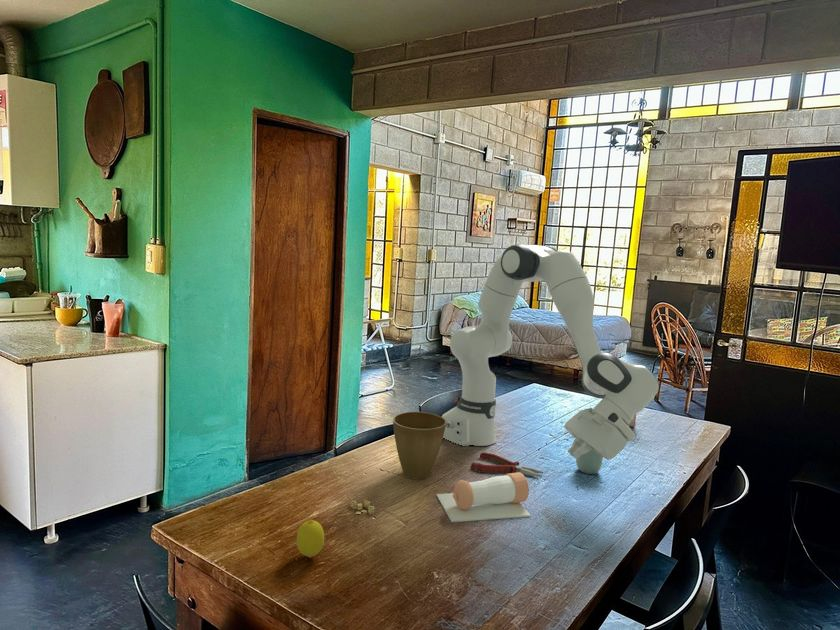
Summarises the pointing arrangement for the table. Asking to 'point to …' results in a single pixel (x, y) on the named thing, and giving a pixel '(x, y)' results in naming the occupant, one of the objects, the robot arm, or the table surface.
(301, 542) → the lemon
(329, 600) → the table surface
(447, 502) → the mat
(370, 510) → the dice set
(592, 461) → the cup
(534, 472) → the pliers
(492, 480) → the pepper shaker
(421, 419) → the plant pot
